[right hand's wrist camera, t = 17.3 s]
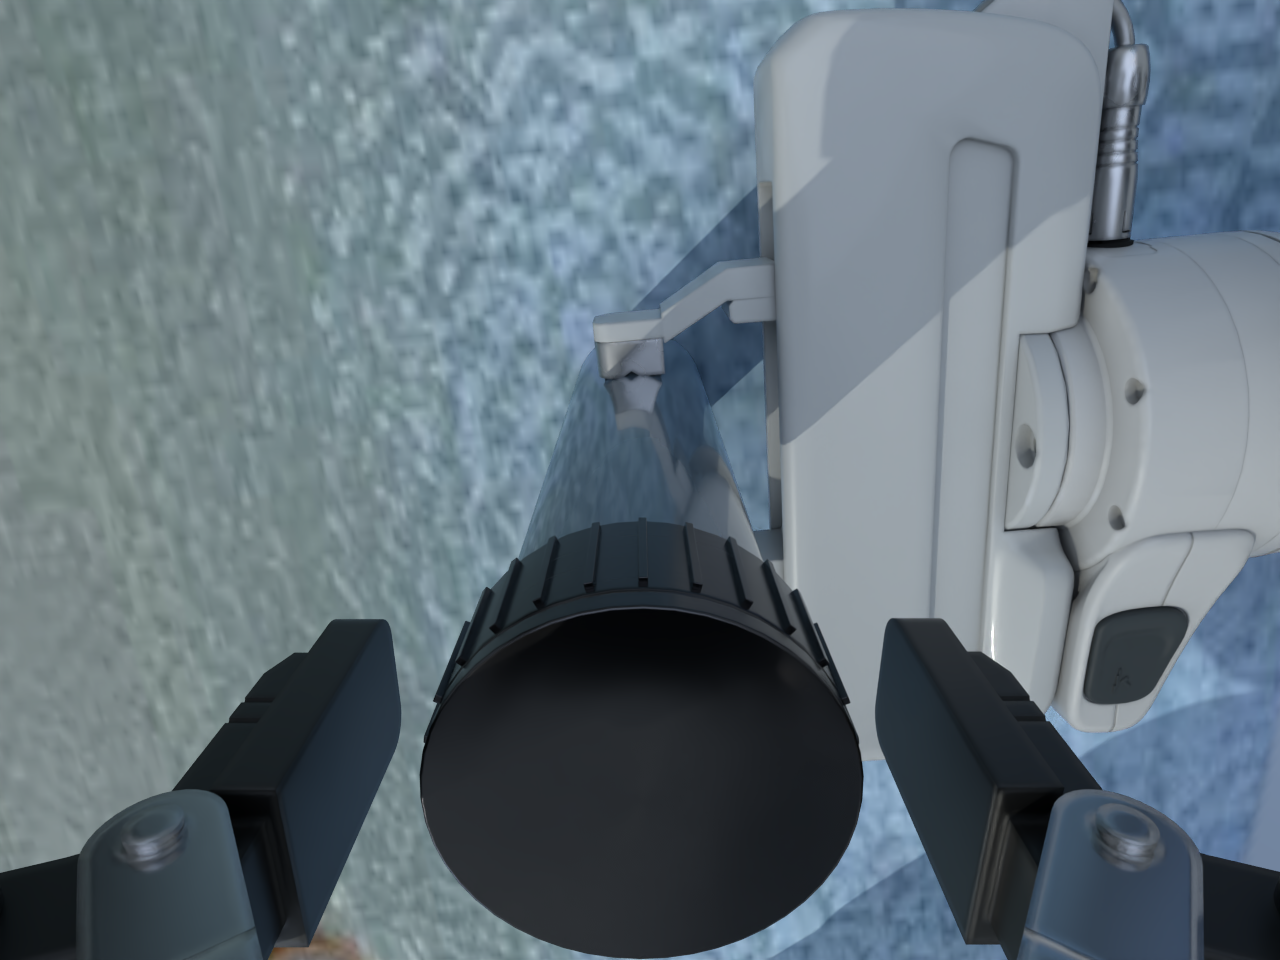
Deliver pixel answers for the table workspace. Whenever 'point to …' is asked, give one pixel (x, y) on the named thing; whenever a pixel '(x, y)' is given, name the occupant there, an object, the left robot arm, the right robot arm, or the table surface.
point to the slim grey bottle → (640, 457)
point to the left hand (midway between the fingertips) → (607, 451)
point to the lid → (641, 745)
